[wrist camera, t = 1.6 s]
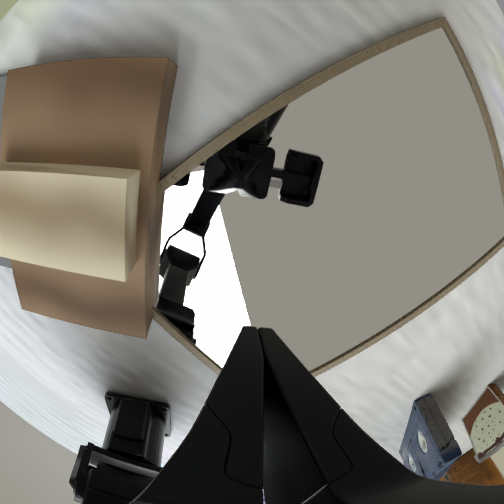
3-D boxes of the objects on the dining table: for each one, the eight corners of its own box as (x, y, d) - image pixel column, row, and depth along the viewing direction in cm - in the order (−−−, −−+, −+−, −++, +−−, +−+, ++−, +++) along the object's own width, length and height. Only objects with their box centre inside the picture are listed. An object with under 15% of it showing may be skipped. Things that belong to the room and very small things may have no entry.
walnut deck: (153, 314, 20) (145, 338, 18) (37, 290, 18) (22, 308, 16) (177, 66, 13) (168, 58, 11) (31, 72, 12) (8, 70, 9)
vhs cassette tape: (411, 445, 36) (429, 490, 27) (395, 452, 36) (412, 498, 27) (434, 390, 28) (466, 451, 19) (413, 399, 28) (444, 463, 19)
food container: (478, 413, 36) (499, 451, 27) (457, 423, 36) (477, 464, 27) (512, 369, 30) (540, 409, 22) (492, 378, 30) (520, 423, 21)
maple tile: (136, 262, 15) (125, 282, 13) (12, 240, 14) (-6, 254, 12) (140, 170, 13) (126, 179, 11) (5, 162, 12) (-16, 170, 10)
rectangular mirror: (436, 19, 12) (91, 242, 18) (444, 16, 11) (85, 248, 17) (506, 232, 19) (255, 395, 25) (513, 237, 18) (256, 403, 24)
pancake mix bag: (428, 474, 51) (454, 548, 26) (486, 436, 47) (519, 508, 22) (431, 476, 54) (455, 545, 29) (485, 441, 50) (516, 507, 24)
